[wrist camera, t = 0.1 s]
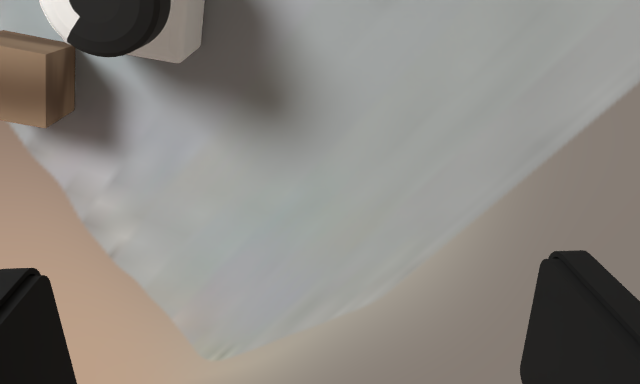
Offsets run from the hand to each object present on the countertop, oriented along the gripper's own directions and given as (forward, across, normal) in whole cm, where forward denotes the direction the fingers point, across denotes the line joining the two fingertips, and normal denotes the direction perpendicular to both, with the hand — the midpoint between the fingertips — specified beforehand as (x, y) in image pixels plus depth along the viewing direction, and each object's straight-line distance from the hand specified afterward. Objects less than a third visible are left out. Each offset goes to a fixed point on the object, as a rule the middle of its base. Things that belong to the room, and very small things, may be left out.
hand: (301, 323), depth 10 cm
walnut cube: (+31, +19, 0) cm, 37 cm away
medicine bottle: (+31, +10, -5) cm, 33 cm away
